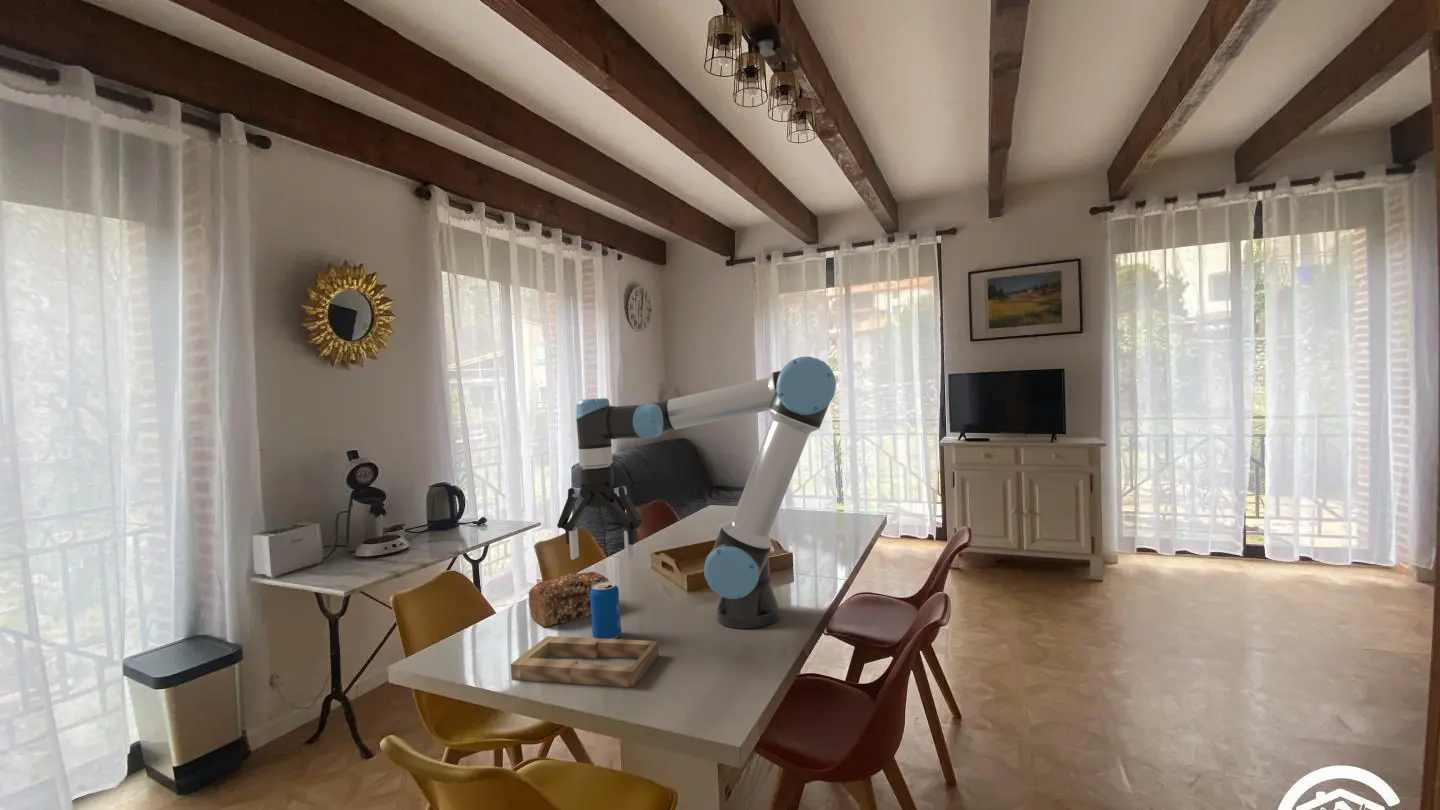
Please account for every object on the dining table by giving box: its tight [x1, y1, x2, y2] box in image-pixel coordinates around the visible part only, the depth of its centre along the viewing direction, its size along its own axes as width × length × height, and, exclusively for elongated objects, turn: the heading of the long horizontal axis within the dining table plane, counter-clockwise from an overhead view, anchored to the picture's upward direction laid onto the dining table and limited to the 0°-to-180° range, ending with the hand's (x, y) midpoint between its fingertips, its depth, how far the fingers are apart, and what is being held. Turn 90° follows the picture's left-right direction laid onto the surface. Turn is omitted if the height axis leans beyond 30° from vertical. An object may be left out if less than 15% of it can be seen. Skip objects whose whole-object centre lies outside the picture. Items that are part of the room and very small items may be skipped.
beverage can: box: [590, 580, 622, 639], centre depth 139 cm, size 6×6×12 cm
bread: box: [528, 571, 610, 628], centre depth 156 cm, size 19×11×10 cm, turn 128°
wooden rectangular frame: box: [510, 635, 660, 688], centre depth 124 cm, size 26×14×3 cm, turn 76°
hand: (601, 558), depth 139 cm, fingers open, 13 cm apart
